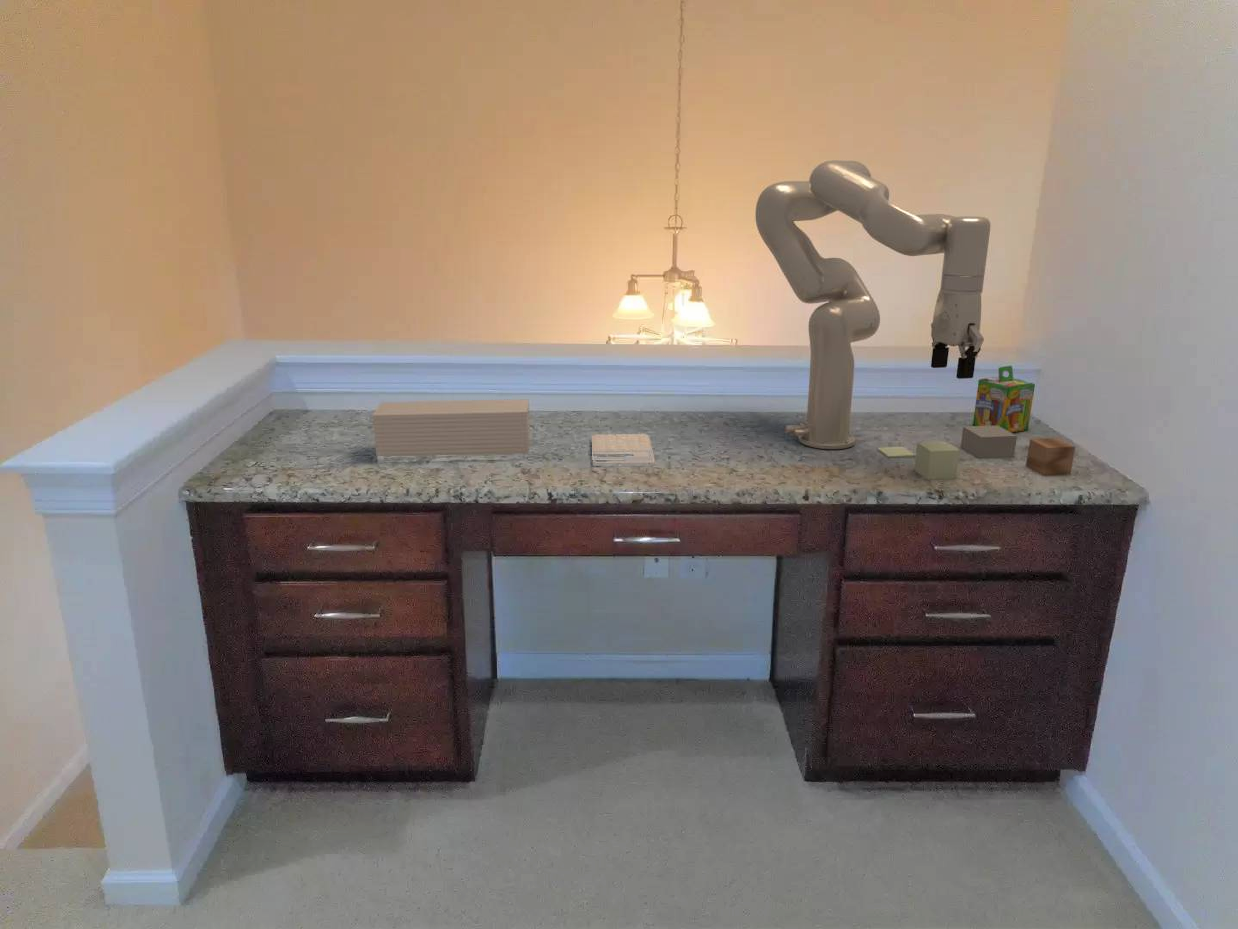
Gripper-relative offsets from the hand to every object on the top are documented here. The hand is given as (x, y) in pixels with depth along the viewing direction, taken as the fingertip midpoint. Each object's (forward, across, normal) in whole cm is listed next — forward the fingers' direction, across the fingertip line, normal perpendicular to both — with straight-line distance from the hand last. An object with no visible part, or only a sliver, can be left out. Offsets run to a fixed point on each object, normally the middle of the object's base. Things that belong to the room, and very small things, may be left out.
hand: (951, 372), depth 169 cm
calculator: (+21, -24, -62) cm, 70 cm away
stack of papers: (+21, -29, -98) cm, 104 cm away
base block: (+21, -11, +17) cm, 29 cm away
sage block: (+21, +1, -1) cm, 21 cm away
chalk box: (+21, -28, +30) cm, 46 cm away
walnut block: (+21, +2, +23) cm, 31 cm away
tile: (+21, -13, -3) cm, 25 cm away
